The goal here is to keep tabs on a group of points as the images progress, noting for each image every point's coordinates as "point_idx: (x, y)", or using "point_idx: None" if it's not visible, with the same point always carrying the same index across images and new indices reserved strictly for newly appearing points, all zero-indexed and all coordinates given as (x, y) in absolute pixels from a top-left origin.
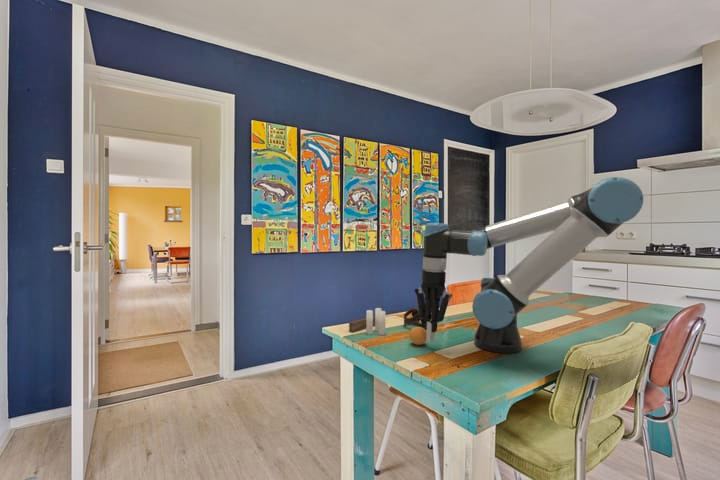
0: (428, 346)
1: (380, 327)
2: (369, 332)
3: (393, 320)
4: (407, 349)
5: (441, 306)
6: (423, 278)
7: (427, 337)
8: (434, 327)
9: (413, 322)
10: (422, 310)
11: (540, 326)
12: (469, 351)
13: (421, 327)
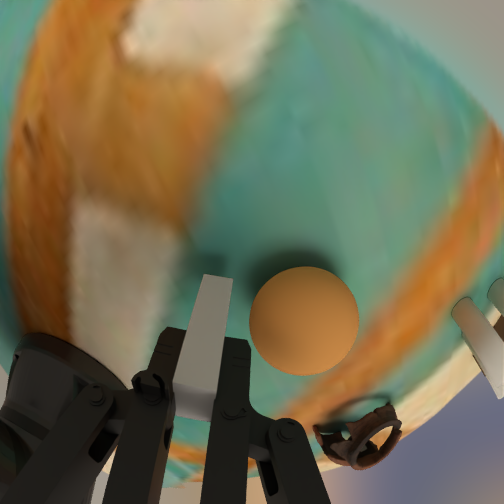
0: (239, 290)
1: (483, 317)
2: (500, 284)
3: (420, 409)
4: (325, 189)
5: (28, 501)
6: None
7: (220, 294)
8: (156, 355)
9: (364, 420)
10: (282, 488)
11: (111, 458)
12: (81, 314)
13: (295, 371)
